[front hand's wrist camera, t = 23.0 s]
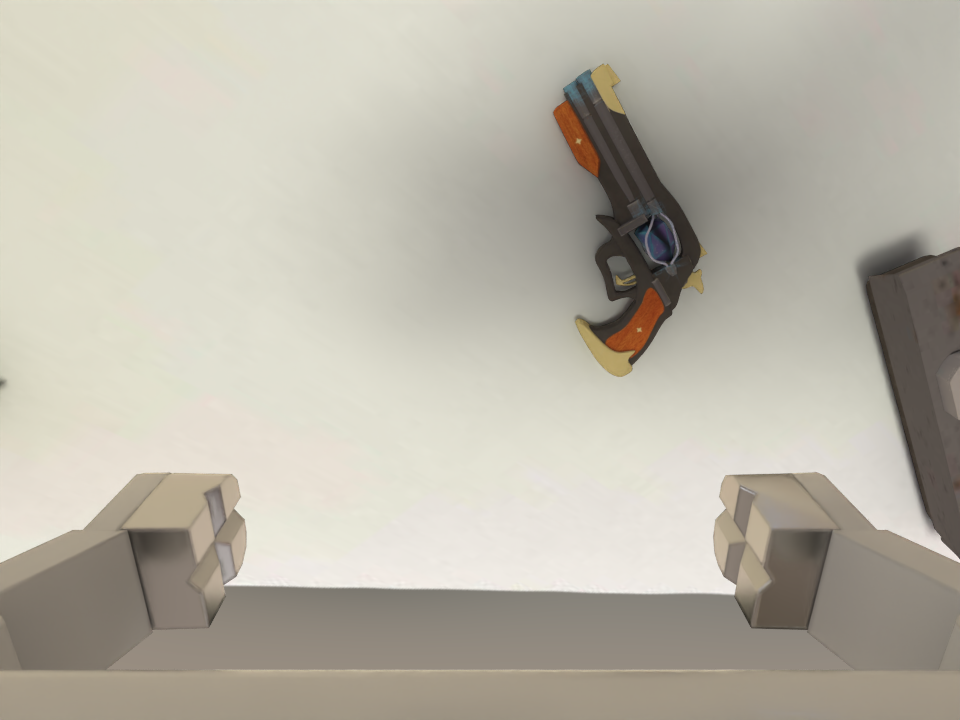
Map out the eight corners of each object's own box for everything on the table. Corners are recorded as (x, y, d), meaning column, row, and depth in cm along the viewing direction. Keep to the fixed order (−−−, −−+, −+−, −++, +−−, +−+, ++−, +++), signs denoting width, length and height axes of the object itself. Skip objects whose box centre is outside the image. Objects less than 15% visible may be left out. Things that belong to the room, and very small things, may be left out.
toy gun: (610, 388, 44) (746, 322, 41) (467, 150, 40) (608, 55, 37) (608, 374, 47) (736, 310, 44) (473, 147, 42) (606, 58, 39)
